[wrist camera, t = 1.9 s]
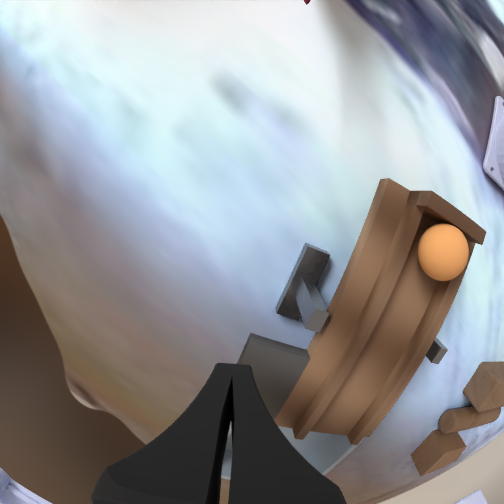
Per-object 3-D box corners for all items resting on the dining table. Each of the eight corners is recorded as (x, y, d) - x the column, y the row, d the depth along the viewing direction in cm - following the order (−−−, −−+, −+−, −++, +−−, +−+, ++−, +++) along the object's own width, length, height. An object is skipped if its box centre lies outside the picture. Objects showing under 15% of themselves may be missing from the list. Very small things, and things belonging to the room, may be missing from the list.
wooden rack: (324, 151, 14) (344, 140, 11) (467, 234, 15) (497, 241, 12) (219, 401, 16) (216, 433, 13) (364, 428, 17) (377, 454, 14)
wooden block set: (501, 387, 17) (549, 377, 18) (475, 359, 22) (530, 358, 23) (416, 482, 21) (486, 458, 22) (404, 454, 27) (474, 437, 28)
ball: (447, 238, 14) (482, 234, 11) (436, 285, 14) (471, 289, 11) (413, 217, 14) (450, 210, 11) (401, 269, 13) (437, 271, 10)
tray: (363, 396, 22) (376, 426, 18) (304, 461, 25) (308, 488, 21) (241, 368, 21) (239, 403, 17) (202, 442, 24) (197, 472, 20)
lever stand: (305, 242, 18) (325, 271, 13) (427, 294, 19) (465, 326, 14) (275, 307, 20) (282, 354, 14) (397, 345, 21) (426, 385, 15)
